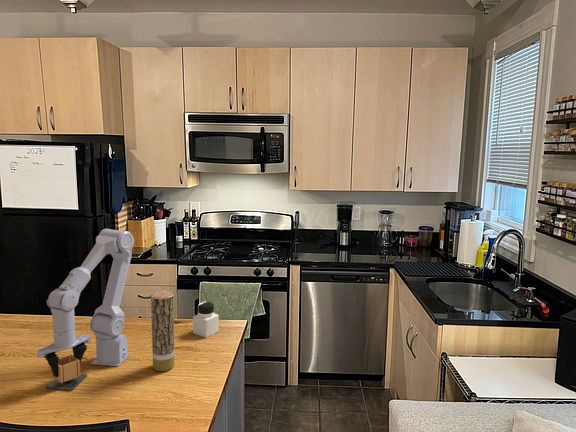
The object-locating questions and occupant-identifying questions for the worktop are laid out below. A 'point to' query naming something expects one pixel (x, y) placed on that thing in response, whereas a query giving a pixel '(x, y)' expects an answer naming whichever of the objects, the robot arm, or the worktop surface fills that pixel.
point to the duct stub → (66, 383)
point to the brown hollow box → (68, 368)
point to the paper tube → (162, 330)
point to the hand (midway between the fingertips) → (66, 371)
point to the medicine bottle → (205, 320)
